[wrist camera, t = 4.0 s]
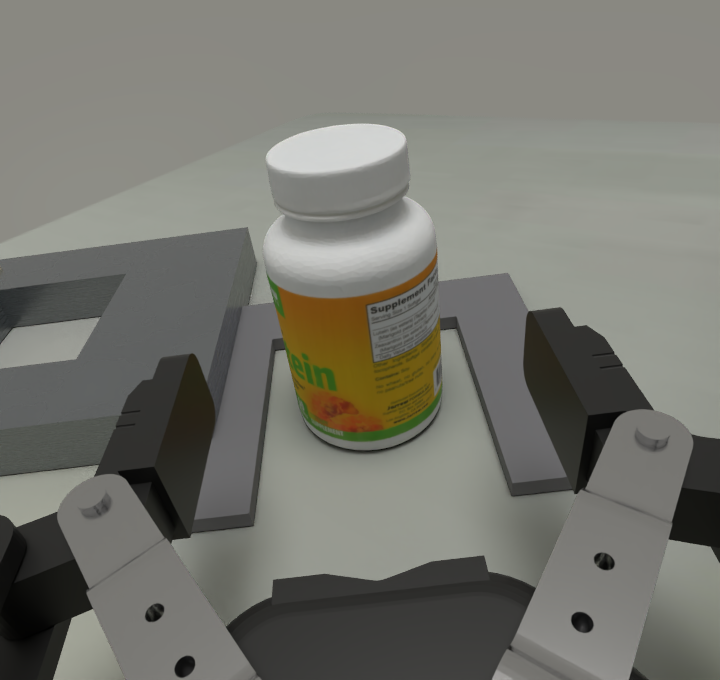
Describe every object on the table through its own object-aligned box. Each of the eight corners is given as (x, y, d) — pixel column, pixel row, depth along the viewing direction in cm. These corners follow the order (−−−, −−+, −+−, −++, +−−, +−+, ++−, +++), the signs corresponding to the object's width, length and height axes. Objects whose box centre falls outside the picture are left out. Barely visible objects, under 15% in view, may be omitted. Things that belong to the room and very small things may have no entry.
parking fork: (218, 320, 27) (215, 309, 27) (507, 283, 27) (508, 273, 26) (158, 536, 17) (151, 524, 17) (610, 484, 17) (613, 471, 17)
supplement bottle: (275, 399, 22) (207, 153, 16) (383, 340, 24) (356, 106, 19) (355, 481, 18) (302, 200, 13) (473, 403, 21) (475, 134, 15)
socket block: (256, 263, 31) (246, 224, 30) (217, 449, 20) (198, 400, 19) (-55, 303, 32) (-79, 266, 31) (-263, 506, 21) (-316, 463, 19)
